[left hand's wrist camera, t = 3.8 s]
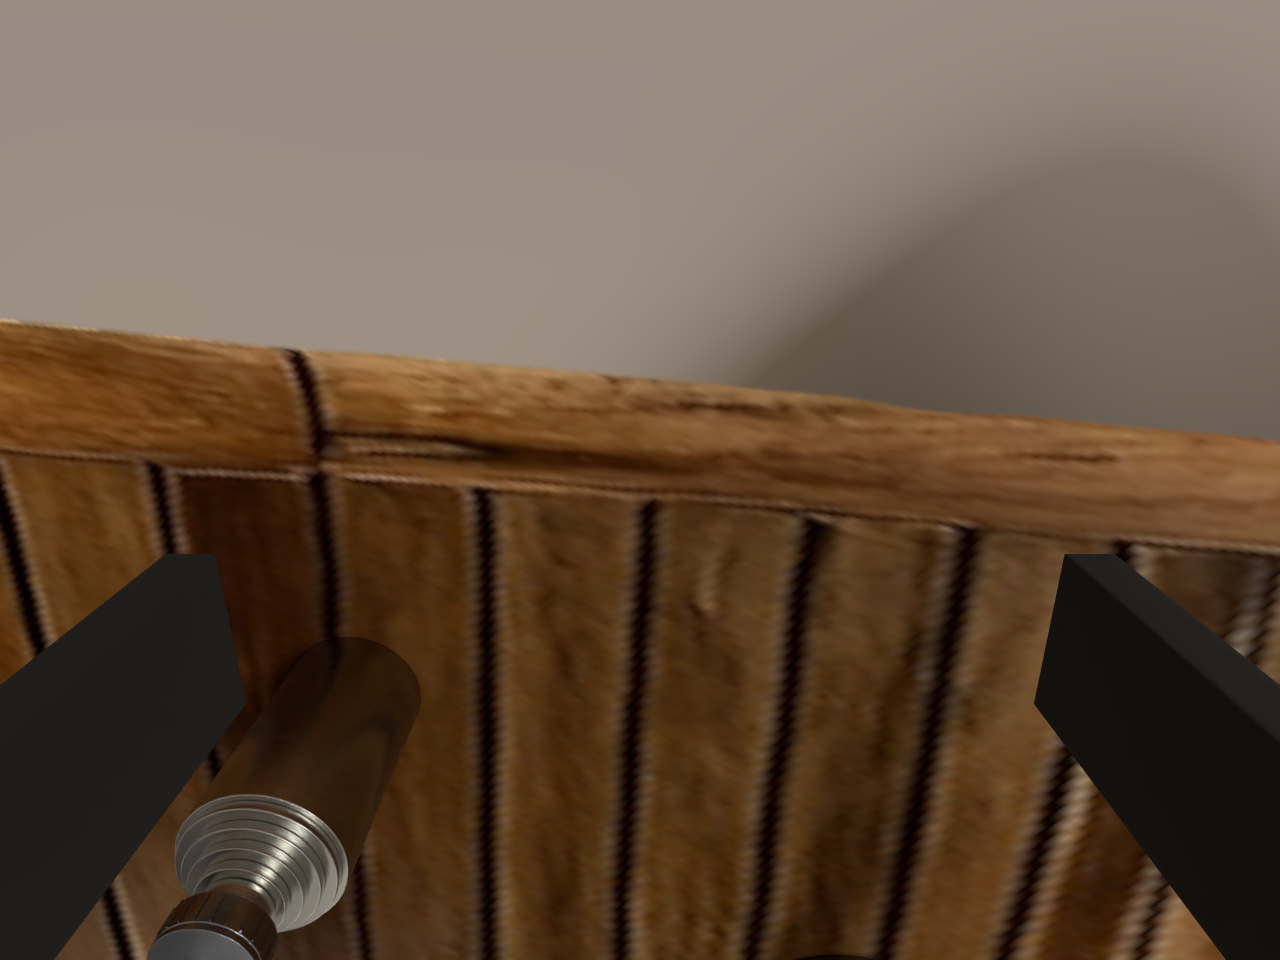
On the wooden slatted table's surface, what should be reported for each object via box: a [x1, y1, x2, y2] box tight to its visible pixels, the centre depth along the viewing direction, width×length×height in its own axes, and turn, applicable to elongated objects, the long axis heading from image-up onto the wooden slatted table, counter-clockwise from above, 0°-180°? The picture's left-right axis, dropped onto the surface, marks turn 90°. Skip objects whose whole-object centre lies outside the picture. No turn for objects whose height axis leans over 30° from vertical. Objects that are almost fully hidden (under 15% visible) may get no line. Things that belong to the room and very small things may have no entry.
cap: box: [147, 891, 279, 960], centre depth 31 cm, size 4×4×2 cm
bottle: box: [175, 638, 421, 933], centre depth 38 cm, size 7×7×17 cm
